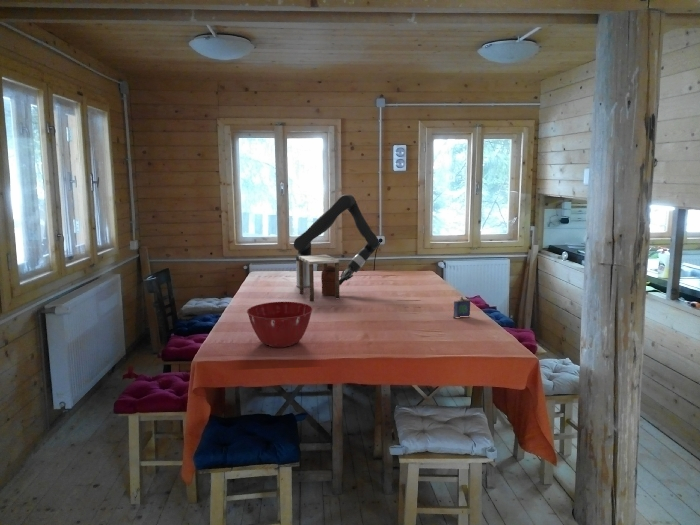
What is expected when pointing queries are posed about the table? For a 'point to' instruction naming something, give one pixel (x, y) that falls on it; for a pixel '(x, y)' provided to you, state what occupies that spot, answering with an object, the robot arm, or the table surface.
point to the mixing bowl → (280, 322)
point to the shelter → (312, 260)
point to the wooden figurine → (328, 281)
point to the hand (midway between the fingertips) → (338, 284)
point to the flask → (462, 307)
